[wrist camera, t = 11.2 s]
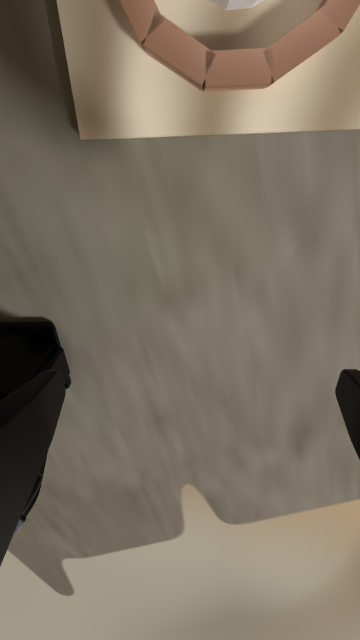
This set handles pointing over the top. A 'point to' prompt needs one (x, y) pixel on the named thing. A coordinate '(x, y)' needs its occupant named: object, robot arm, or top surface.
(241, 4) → the white cylinder
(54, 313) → the top surface
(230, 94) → the collar board
